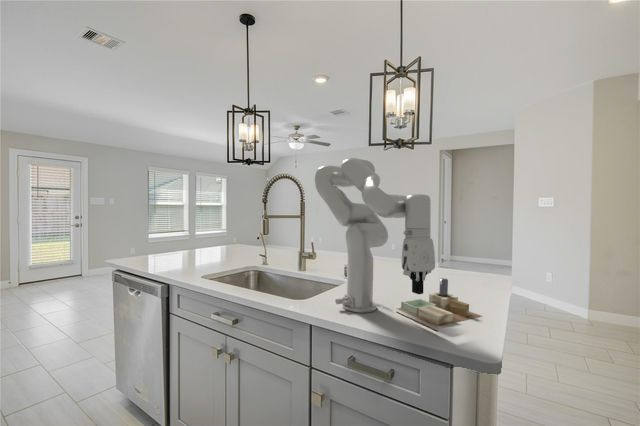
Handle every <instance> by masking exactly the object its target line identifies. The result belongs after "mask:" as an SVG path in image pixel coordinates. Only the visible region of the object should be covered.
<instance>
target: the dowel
mask: <svg viewBox="0 0 640 426" xmlns="http://www.w3.org/2000/svg"><path fill="white" fill-rule="evenodd" d="M448 288H449V280H448V278H444V277H443V278H439V292H438V293H439V296H441V297H448V294H449V289H448Z"/></svg>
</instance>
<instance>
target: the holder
mask: <svg viewBox="0 0 640 426" xmlns="http://www.w3.org/2000/svg"><path fill="white" fill-rule="evenodd" d="M453 299H454V300H457V301H459V296H456V295H453V294H451V293H450V294H449V293H448V297H441V296H439V292H434V293H429V294H428V302H430V303H433V304H436V305H437V307H438V308H440V309H443V310H449V309H450V300H453Z"/></svg>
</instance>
